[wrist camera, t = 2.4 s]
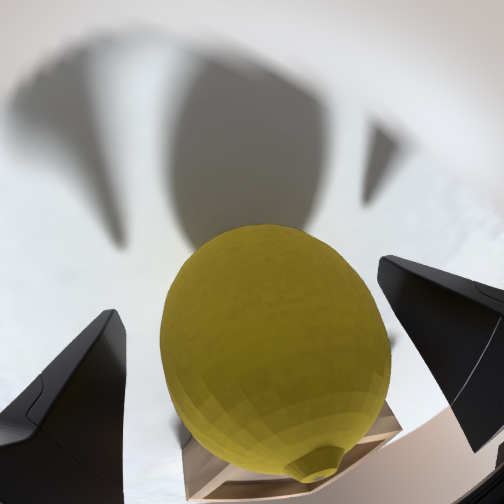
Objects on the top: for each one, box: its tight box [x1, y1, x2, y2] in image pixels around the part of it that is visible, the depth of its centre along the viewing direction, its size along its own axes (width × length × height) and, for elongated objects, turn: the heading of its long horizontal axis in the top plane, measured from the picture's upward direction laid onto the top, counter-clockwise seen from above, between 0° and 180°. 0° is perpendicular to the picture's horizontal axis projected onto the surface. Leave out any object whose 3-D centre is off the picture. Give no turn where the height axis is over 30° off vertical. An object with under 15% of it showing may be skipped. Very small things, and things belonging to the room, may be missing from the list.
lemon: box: [160, 224, 391, 483], centre depth 7 cm, size 6×6×8 cm
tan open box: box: [182, 400, 403, 502], centre depth 15 cm, size 10×10×4 cm
